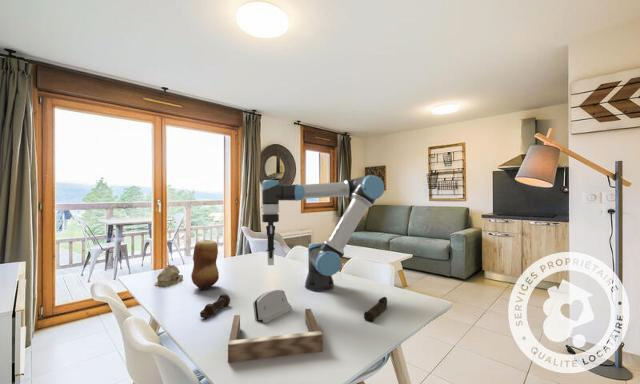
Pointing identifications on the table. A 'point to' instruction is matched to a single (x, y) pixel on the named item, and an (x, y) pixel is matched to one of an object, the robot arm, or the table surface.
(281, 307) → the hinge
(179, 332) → the table surface
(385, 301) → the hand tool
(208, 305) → the bolt
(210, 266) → the butternut squash
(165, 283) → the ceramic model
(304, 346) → the frame
